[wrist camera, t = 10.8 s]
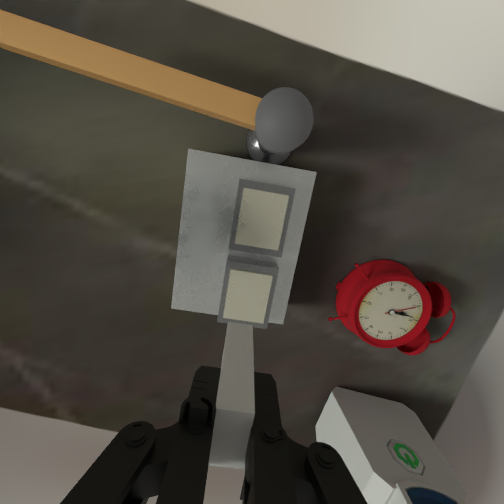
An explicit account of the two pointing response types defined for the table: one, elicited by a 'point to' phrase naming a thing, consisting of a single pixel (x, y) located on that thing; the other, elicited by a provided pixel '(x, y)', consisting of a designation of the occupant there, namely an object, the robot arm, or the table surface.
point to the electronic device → (387, 450)
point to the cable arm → (165, 83)
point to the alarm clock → (391, 306)
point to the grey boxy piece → (240, 235)
